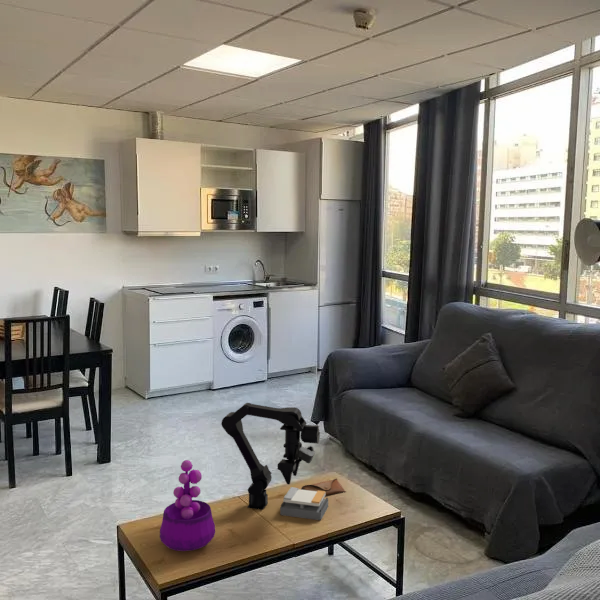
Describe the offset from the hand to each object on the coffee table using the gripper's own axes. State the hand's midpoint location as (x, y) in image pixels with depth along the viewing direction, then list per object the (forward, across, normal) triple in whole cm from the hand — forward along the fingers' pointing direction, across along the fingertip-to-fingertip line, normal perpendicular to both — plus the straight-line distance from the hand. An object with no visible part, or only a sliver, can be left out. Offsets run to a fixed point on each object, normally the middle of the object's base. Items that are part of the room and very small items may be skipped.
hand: (291, 479), depth 235 cm
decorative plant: (+13, -36, +26) cm, 46 cm away
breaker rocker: (+6, 0, -5) cm, 8 cm away
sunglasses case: (+12, +19, -9) cm, 24 cm away
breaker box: (+12, 0, -6) cm, 13 cm away
